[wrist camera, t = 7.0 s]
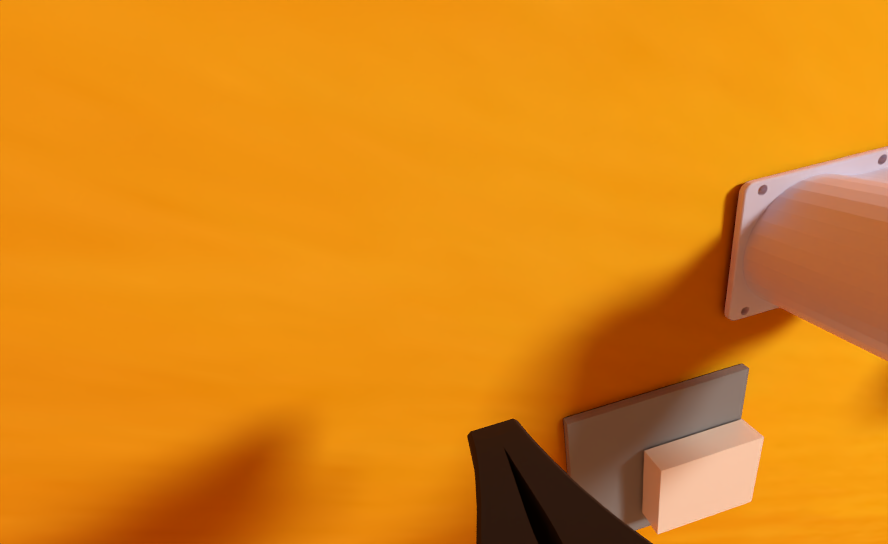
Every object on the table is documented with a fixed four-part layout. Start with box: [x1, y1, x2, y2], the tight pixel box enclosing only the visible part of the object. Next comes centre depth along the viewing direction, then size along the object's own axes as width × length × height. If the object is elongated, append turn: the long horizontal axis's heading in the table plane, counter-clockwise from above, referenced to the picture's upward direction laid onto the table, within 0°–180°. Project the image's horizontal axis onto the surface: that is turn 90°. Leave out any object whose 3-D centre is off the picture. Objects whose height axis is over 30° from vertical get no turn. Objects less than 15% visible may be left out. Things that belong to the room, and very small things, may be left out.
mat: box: [563, 364, 749, 530], centre depth 28 cm, size 12×12×1 cm
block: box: [642, 419, 764, 534], centre depth 27 cm, size 2×6×7 cm
